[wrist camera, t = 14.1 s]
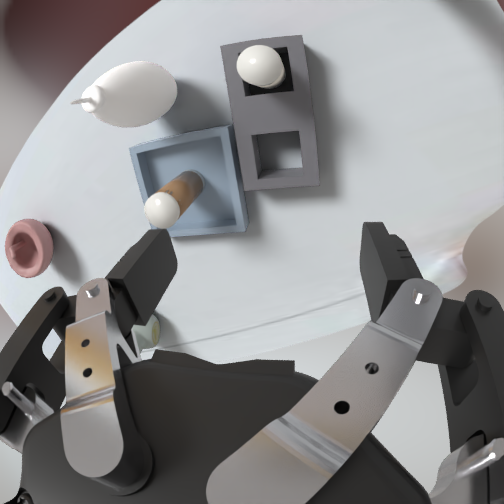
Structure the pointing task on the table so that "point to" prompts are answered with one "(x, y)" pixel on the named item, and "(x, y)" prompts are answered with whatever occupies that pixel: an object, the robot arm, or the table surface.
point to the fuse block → (272, 116)
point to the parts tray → (212, 169)
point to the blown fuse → (174, 199)
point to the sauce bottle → (130, 94)
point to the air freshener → (147, 334)
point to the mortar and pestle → (29, 248)
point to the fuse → (261, 67)
